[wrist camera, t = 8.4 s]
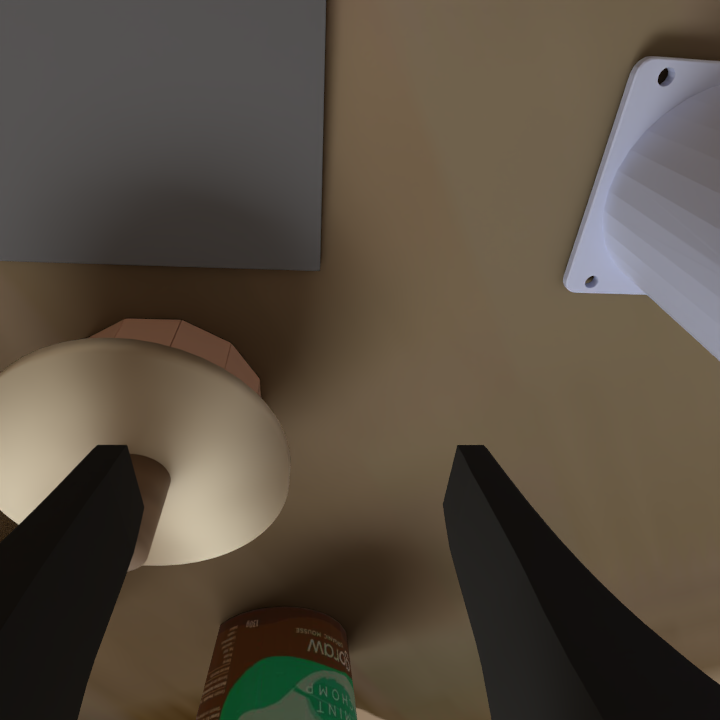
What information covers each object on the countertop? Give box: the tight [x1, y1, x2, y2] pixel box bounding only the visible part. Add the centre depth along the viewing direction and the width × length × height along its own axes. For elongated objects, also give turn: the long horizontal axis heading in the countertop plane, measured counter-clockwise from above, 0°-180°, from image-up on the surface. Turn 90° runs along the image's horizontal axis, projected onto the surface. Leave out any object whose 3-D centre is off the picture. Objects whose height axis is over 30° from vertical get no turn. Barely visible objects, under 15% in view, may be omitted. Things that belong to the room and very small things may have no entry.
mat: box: [0, 0, 326, 271], centre depth 15 cm, size 13×13×1 cm
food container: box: [196, 607, 357, 720], centre depth 30 cm, size 12×6×10 cm, turn 50°
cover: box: [0, 338, 291, 571], centre depth 17 cm, size 11×11×4 cm
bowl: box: [89, 319, 261, 397], centre depth 21 cm, size 8×8×4 cm
